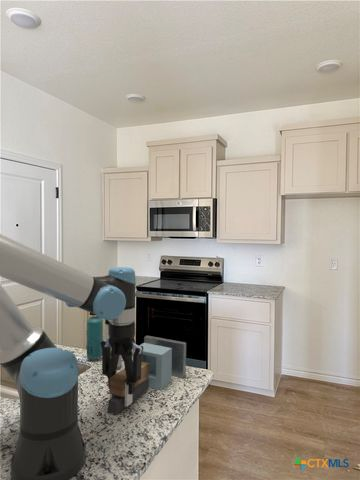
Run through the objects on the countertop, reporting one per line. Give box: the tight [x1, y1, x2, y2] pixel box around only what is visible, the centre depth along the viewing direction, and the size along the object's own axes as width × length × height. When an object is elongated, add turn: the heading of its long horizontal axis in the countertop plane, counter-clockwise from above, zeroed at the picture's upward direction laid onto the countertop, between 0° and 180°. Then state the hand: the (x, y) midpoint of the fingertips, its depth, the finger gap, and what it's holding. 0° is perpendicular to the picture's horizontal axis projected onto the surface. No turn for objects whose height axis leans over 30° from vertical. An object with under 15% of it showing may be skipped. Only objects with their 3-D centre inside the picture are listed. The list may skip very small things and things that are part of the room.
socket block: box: [132, 342, 172, 391], centre depth 111 cm, size 7×11×11 cm, turn 64°
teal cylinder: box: [85, 312, 104, 359], centre depth 130 cm, size 6×7×20 cm
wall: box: [143, 335, 187, 379], centre depth 119 cm, size 2×16×12 cm, turn 64°
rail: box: [107, 378, 150, 416], centre depth 100 cm, size 17×3×4 cm, turn 154°
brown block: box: [108, 362, 149, 397], centre depth 100 cm, size 14×4×4 cm, turn 154°
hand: (121, 401), depth 96 cm, fingers closed on brown block, 4 cm apart
